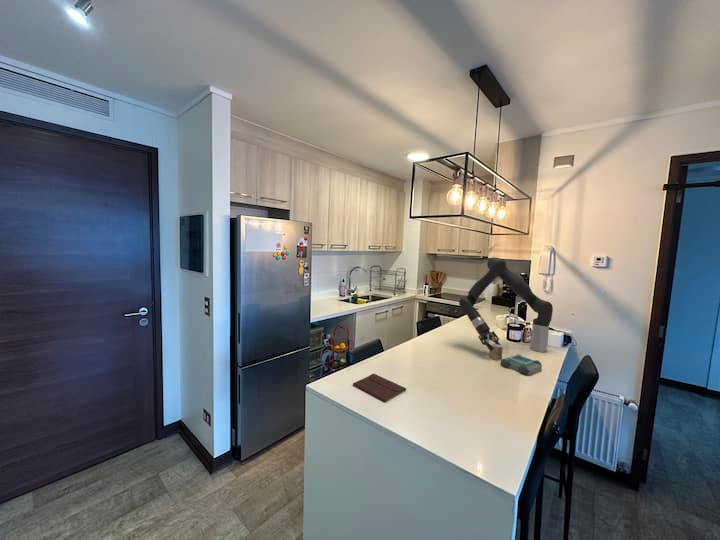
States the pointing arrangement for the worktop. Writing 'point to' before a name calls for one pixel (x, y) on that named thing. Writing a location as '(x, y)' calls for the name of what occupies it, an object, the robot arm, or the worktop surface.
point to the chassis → (522, 364)
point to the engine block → (496, 352)
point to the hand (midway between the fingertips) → (496, 348)
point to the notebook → (379, 387)
